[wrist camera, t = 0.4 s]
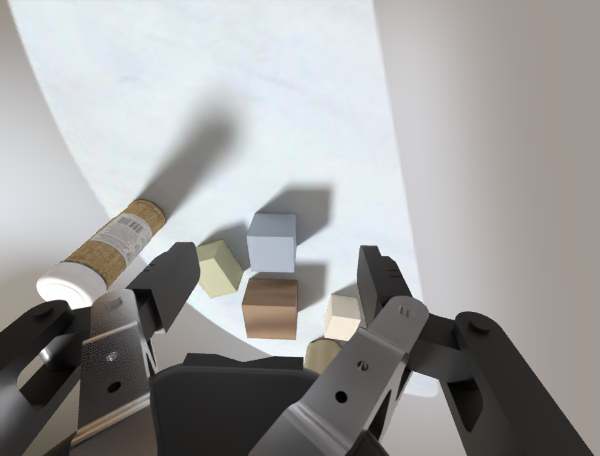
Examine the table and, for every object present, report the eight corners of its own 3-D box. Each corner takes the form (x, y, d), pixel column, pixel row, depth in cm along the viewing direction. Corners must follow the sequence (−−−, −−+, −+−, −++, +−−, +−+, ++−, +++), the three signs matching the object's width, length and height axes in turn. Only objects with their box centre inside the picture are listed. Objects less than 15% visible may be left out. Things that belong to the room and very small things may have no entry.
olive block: (197, 246, 36) (185, 265, 33) (223, 238, 35) (213, 257, 32) (219, 277, 39) (210, 298, 36) (243, 271, 38) (237, 292, 35)
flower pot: (290, 336, 46) (285, 389, 38) (344, 328, 44) (350, 382, 37) (306, 366, 50) (304, 418, 43) (355, 360, 49) (362, 413, 41)
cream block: (330, 293, 40) (332, 315, 36) (357, 297, 40) (360, 319, 36) (323, 315, 42) (324, 337, 39) (348, 318, 43) (351, 341, 39)
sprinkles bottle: (122, 210, 33) (23, 291, 22) (144, 191, 32) (49, 268, 20) (152, 235, 35) (75, 321, 24) (174, 219, 33) (103, 303, 22)
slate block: (255, 212, 33) (246, 236, 28) (295, 213, 32) (293, 237, 28) (258, 245, 35) (251, 271, 31) (296, 246, 35) (294, 272, 31)
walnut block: (249, 277, 39) (241, 304, 35) (297, 279, 38) (295, 306, 34) (254, 309, 43) (247, 337, 38) (297, 311, 42) (295, 339, 38)
